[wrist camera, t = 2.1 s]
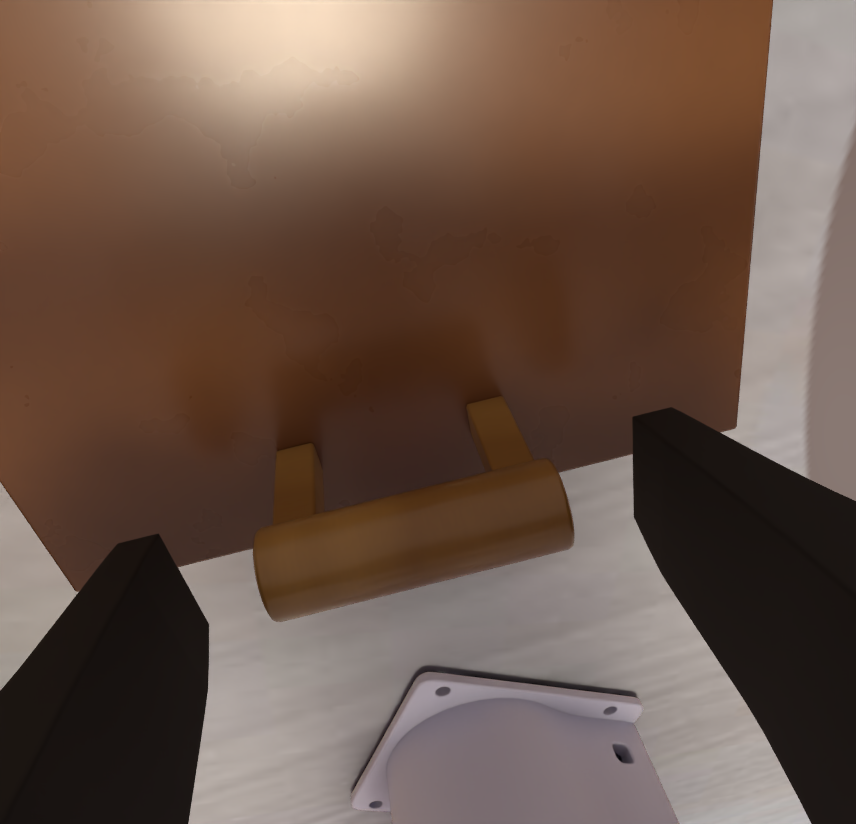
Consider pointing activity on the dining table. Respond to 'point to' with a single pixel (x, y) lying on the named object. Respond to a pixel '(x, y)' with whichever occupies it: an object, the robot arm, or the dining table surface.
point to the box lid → (361, 271)
